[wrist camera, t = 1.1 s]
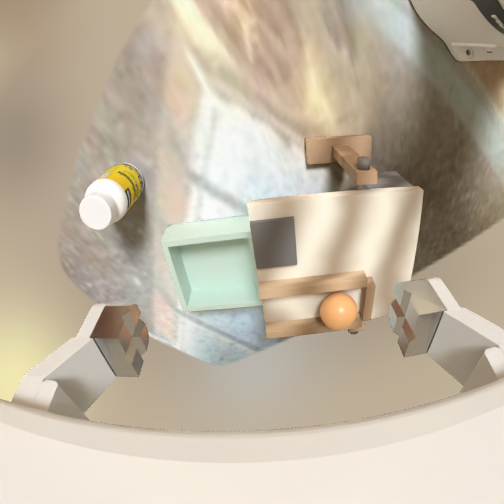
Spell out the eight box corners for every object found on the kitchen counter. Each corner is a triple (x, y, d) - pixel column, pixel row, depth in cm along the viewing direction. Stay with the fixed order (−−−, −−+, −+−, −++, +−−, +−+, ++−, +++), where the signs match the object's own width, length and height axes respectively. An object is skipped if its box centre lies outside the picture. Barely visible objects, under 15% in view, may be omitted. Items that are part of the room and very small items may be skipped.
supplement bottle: (152, 191, 39) (126, 226, 31) (119, 205, 40) (89, 242, 32) (133, 154, 36) (101, 182, 28) (101, 171, 37) (64, 201, 29)
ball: (353, 282, 33) (363, 307, 29) (351, 309, 35) (359, 334, 31) (317, 286, 33) (323, 312, 30) (317, 314, 35) (322, 340, 32)
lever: (395, 167, 33) (431, 197, 25) (385, 278, 41) (407, 322, 34) (248, 179, 34) (247, 214, 27) (265, 292, 43) (266, 341, 35)
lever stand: (368, 134, 35) (406, 159, 26) (363, 280, 47) (384, 331, 37) (304, 137, 35) (323, 164, 26) (312, 286, 47) (324, 340, 38)
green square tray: (254, 214, 41) (254, 230, 37) (264, 284, 47) (265, 305, 43) (168, 225, 42) (160, 242, 38) (188, 291, 48) (183, 311, 44)
